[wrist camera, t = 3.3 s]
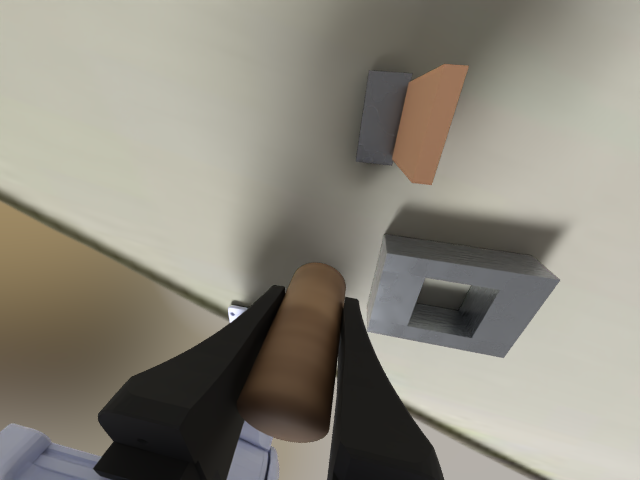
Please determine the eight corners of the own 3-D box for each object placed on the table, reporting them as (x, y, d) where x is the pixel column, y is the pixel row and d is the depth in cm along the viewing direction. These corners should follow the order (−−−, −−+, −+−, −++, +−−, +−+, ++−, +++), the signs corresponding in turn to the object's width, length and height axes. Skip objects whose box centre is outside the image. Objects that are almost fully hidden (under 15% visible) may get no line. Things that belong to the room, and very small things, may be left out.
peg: (342, 309, 14) (325, 450, 8) (292, 300, 15) (241, 429, 9) (348, 267, 13) (333, 402, 7) (292, 258, 13) (231, 380, 7)
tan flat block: (404, 160, 15) (431, 185, 10) (391, 159, 15) (412, 182, 10) (423, 83, 13) (469, 65, 8) (408, 82, 13) (444, 64, 8)
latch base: (390, 162, 16) (392, 165, 15) (356, 159, 17) (355, 161, 16) (409, 75, 14) (412, 73, 13) (368, 73, 14) (369, 70, 13)
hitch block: (487, 328, 22) (503, 357, 19) (366, 306, 23) (366, 331, 20) (531, 255, 18) (560, 279, 15) (384, 234, 19) (387, 253, 16)
